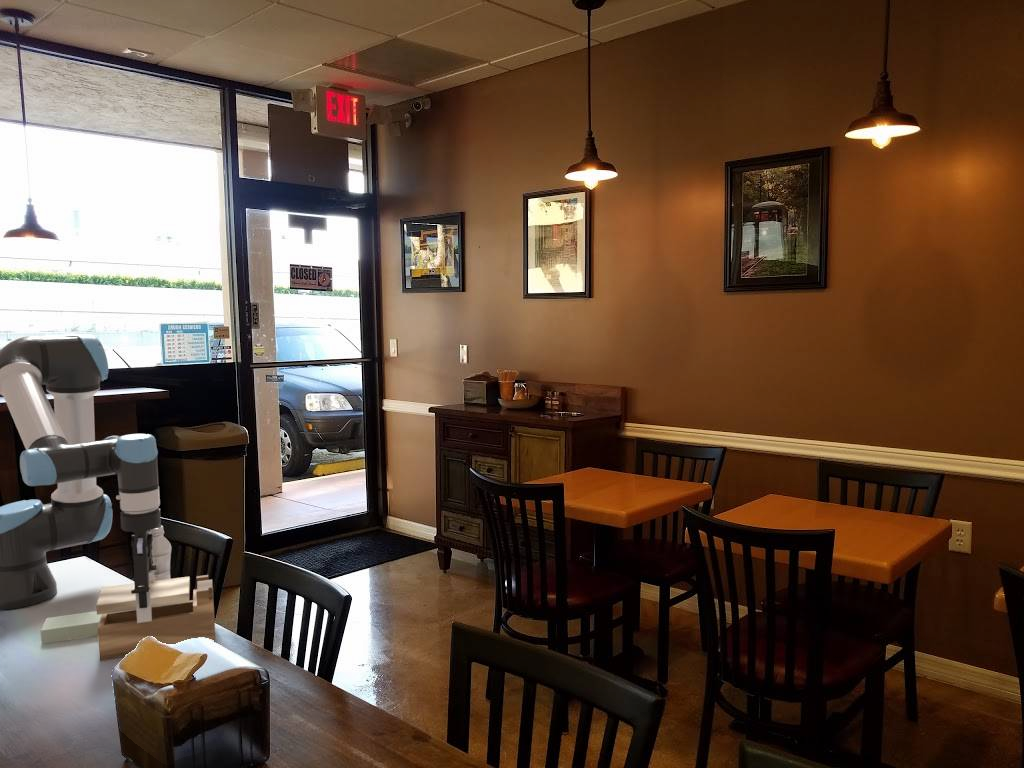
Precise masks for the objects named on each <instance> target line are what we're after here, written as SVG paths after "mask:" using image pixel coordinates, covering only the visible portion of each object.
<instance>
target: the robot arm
mask: <svg viewBox="0 0 1024 768" xmlns="http://www.w3.org/2000/svg"><path fill="white" fill-rule="evenodd" d="M108 376H109V363H108V358H107V354H106V351H105V349H104V347H103V344H102V342H101V341H100V340H99V338H98V337H97V336H95V335H93V334H80V333H79V334H78V333H71V334H55V335H54V334H53V335H30V336H29V335H28V336H23V337H20V338H17V339H14V340H12V341H10V342H8V343H7V344H6V345H5V346H3V347H2V348H1V349H0V396H3V398H4V400H5V403H6V406H7V408H8V411H9V413H10V415H11V417H12V419H13V423H14V424H15V427H16V429H17V431H18V434H19V436H20V439H21V441H22V443H23V446H24V448H25V450H23V451H22V452H21V454H20V456H19V469H20V474H21V476H22V477H21V478H22V481H23V482H24V484H26V485H27V486H29V487H36V486H37V487H38V486H50V485H55V484H57V488H56V489H55V490H54V491H53V492H52V493H51V496H50V499H51V500H50V503H46V504H43V502H42V501H41V500H40V499H28V500H26V499H23V500H19V501H14V502H11V503H7V504H4V505H2V506H0V610H1V611H2V610H14V609H20V608H25V607H29V606H33V605H37V604H39V603H43V602H46V601H47V600H49V599H51V598H53V597H54V596H56V594H57V592H58V588H57V587H58V585H57V581H56V579H55V577H54V575H53V573H52V571H51V569H50V566H49V564H48V562H47V552H51V551H54V550H60V549H65V548H69V547H75V546H79V545H81V546H82V545H86V544H90V543H93V542H98V541H101V540H103V539H105V538H106V537H107V535H108V534H109V533H110V531H111V529H112V525H113V524H112V523H113V512H114V511H113V508H112V505H113V503H112V501H111V499H110V497H109V496H108V494H105V493H104V490H103V488H102V487H100V486H99V485H97V478H99V477H106V476H111V475H117V482H118V495H116V497H115V499H116V500H119V509H120V510H121V512H120V514H119V515H120V517H119V518H120V529H121V530H122V531H124V532H128V533H130V532H132V533H134V534H131V539H130V546H131V549H132V556H131V557H132V559H133V578H134V579H133V581H134V582H133V583H134V585H135V589H134V590H131V593H132V594H134V593H135V595H136V611H137V623H141V622H148V621H152V611H151V595H150V587H149V581H154V577H153V572H150V571H152V570H156V565H153V558H152V546H153V544H152V541H153V533H150V529H151V530H152V529H155V528H157V527H158V526H159V525H162V522H161V521H162V519H161V518H162V517H161V508H159V507H160V505H161V499H160V497H161V496H160V486H159V469H158V468H159V466H158V454H159V450H158V448H157V442H156V441H157V439H156V438H155V436H154V435H152V434H151V433H150V434H149V433H147V434H146V433H131V434H130V433H129V434H125V435H111V436H107V437H105V438H103V439H102V440H96V436H95V435H96V432H95V430H96V429H95V405H94V403H95V401H94V399H95V398H94V396H95V394H97V392H98V391H100V390H101V382H104V380H107V379H108ZM43 385H45V389H46V392H48V393H49V394H50V395H51V396H53V404H54V405H53V407H54V408H52V406H51V403H50V401H49V399H48V397H47V395H46V393H45V391H44V388H43ZM152 565H153V566H152ZM138 586H142V587H138Z"/></svg>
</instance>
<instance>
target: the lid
mask: <svg viewBox="0 0 1024 768" xmlns="http://www.w3.org/2000/svg"><path fill="white" fill-rule="evenodd" d="M190 580H191V578H190V576H184V577H183V576H182V577H174V578H171V579H165V580H157V581H149V587H150V595H151V607H158V606H166V605H173V604H181V603H188V602H189V601H190V593H191V592H190V591H191V581H190ZM138 587H142V586H138ZM134 589H135V585H134V582H133V583H126V584H119V585H118V584H117V585H109V586H103V587H101V590H100V591H99V596H98V598H97V602H96V604H95V607H96V611H97V615H100V614H107V613H114V612H122V611H129V610H136V595H135V593H134V594H132V593H131V590H134Z"/></svg>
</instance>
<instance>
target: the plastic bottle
mask: <svg viewBox="0 0 1024 768" xmlns="http://www.w3.org/2000/svg"><path fill="white" fill-rule="evenodd" d="M150 533H153V541H152V544H153V546H152V558H153V565H156V570H152V571H150V572H153V577H154V581H157V580H165V579H172V578H171V557H172V556H171V555H172V545H171V543H170V541H169V540H168V539H167V538H166V537H165V536H164V534H165V531H164V526H163V525H162V524H160V525H159V526H158V527H157V528H155V529H152V530H151V529H150ZM153 565H152V566H153Z"/></svg>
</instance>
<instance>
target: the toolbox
mask: <svg viewBox="0 0 1024 768" xmlns="http://www.w3.org/2000/svg"><path fill="white" fill-rule="evenodd" d="M195 579H196V582H197V581H204V580H209V574H206V575H205V574H204V575H196V578H195ZM192 593H193V594H192V599H191V600H189V602H188V603H181V604H173V605H166V606H158V607H151V611H152V621H148V622H141V623H137V611H136V610H129V611H122V612H114V613H107V614H102V615H101V618H100V621H99V625H98V636H97V640H98V653H99V661H107V660H113V659H120V658H125V657H124V656H125V655H126V654H128V653H129V652H131V651H132V650H134V649H135V648H136V646H137V644H138V643H139V641H140V640H142V639H143V638H145V637H147V636H153V637H155V638H156V639H157V640H158V641H160V642H162V643H166V644H176V643H178V642H181V641H184V640H187V639H191V638H198V637H205V638H209V639H212V640H214V641H216V624H215V623H216V622H215V620H216V619H215V606H214V604H215V603H214V597H213V598H210V599H209V589H208V588H205V589H197V588H196V589H195V588H194V589H193V592H192Z"/></svg>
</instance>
